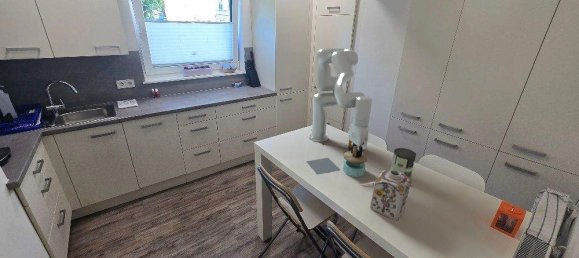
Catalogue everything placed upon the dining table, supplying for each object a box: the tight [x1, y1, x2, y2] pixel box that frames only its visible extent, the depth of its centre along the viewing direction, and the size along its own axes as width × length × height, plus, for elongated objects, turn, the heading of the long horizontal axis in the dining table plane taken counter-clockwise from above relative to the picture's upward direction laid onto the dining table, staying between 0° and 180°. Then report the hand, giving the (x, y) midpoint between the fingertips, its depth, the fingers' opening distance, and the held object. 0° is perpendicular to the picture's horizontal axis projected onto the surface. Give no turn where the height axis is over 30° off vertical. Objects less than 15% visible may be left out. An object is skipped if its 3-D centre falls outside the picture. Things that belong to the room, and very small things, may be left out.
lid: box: [343, 146, 369, 164], centre depth 129 cm, size 12×12×6 cm
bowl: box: [342, 159, 366, 178], centre depth 132 cm, size 11×11×5 cm
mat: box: [306, 157, 341, 175], centre depth 138 cm, size 14×14×1 cm
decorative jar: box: [369, 169, 412, 222], centre depth 104 cm, size 12×12×18 cm
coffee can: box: [390, 147, 417, 180], centre depth 128 cm, size 10×10×14 cm
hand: (356, 154), depth 129 cm, fingers closed on lid, 3 cm apart
